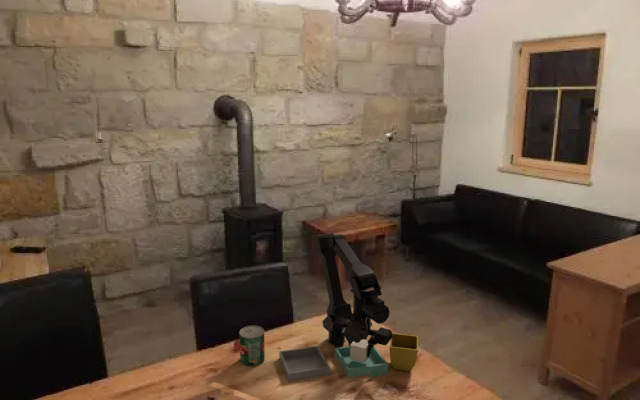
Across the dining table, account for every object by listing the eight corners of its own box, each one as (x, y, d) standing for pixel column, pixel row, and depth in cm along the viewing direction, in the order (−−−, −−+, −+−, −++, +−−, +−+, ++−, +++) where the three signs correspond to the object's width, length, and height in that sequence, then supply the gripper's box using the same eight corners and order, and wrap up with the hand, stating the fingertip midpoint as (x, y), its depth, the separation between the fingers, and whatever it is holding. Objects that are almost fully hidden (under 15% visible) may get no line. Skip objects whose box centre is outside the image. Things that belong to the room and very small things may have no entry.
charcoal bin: (279, 361, 153) (279, 351, 152) (317, 355, 156) (317, 345, 156) (288, 384, 141) (288, 373, 140) (329, 377, 144) (329, 367, 144)
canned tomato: (269, 362, 152) (269, 331, 150) (250, 372, 146) (250, 340, 144) (254, 353, 157) (253, 323, 155) (235, 362, 152) (234, 331, 149)
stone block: (350, 358, 149) (350, 344, 148) (356, 351, 153) (356, 337, 152) (364, 363, 147) (365, 348, 146) (370, 355, 151) (371, 341, 150)
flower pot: (416, 376, 146) (418, 349, 144) (388, 372, 147) (389, 346, 146) (416, 360, 154) (418, 335, 152) (389, 357, 156) (391, 332, 154)
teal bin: (334, 357, 155) (334, 348, 154) (371, 352, 159) (371, 342, 158) (348, 380, 143) (348, 370, 142) (387, 373, 147) (387, 363, 146)
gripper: (323, 313, 144) (323, 358, 147) (381, 327, 135) (378, 376, 139) (339, 299, 154) (338, 342, 157) (394, 312, 145) (391, 358, 148)
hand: (360, 354), depth 150 cm, fingers closed on stone block, 5 cm apart
